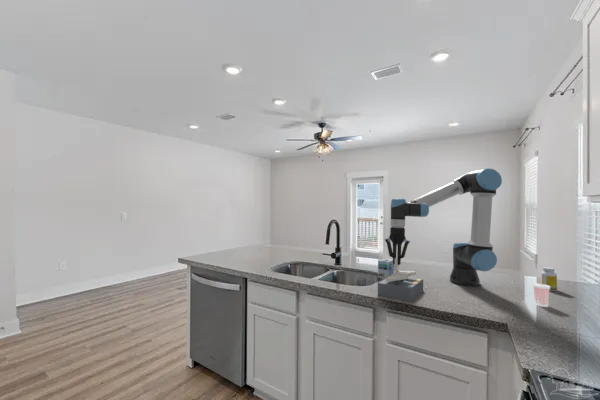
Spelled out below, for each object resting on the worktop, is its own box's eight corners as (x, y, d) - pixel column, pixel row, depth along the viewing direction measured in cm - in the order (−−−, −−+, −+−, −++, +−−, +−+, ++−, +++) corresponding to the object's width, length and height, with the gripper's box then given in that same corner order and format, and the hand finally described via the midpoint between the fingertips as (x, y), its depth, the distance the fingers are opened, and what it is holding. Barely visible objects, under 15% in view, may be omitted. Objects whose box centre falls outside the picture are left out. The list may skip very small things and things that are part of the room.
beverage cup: (538, 307, 125) (538, 275, 125) (529, 302, 131) (529, 272, 131) (554, 308, 124) (553, 276, 124) (544, 303, 130) (544, 272, 131)
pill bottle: (560, 291, 148) (560, 269, 149) (547, 291, 149) (547, 269, 149) (549, 287, 155) (549, 266, 155) (537, 287, 155) (537, 266, 155)
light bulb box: (388, 280, 168) (388, 262, 168) (377, 278, 172) (377, 260, 172) (394, 276, 177) (394, 259, 177) (384, 274, 181) (384, 258, 181)
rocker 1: (408, 277, 137) (407, 274, 137) (405, 279, 134) (404, 275, 135) (388, 280, 143) (387, 277, 143) (386, 281, 140) (385, 278, 140)
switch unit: (423, 290, 148) (423, 276, 148) (411, 301, 131) (411, 286, 131) (392, 285, 158) (393, 272, 158) (377, 294, 140) (377, 280, 140)
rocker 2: (412, 274, 143) (411, 271, 143) (410, 276, 140) (409, 273, 140) (393, 277, 149) (392, 274, 149) (391, 278, 146) (390, 275, 146)
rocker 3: (416, 273, 148) (415, 270, 148) (414, 275, 145) (413, 272, 146) (397, 273, 154) (396, 270, 154) (395, 274, 151) (394, 271, 152)
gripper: (383, 226, 154) (382, 269, 154) (407, 228, 146) (406, 273, 146) (388, 225, 160) (387, 267, 160) (411, 227, 152) (410, 271, 152)
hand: (396, 270), depth 153 cm, fingers closed
